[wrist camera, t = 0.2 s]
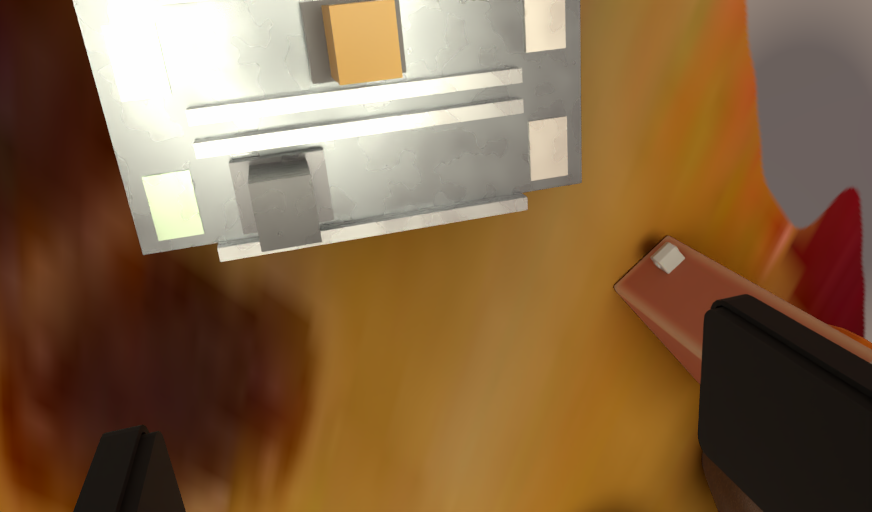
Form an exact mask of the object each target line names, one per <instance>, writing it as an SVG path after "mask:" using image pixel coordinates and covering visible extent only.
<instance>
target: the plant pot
mask: <svg viewBox="0 0 872 512" xmlns="http://www.w3.org/2000/svg"><path fill="white" fill-rule="evenodd" d="M702 466H703V470H704V473H705V476H706V479H707V482H708V485H709V488H710V490H711V493H712V496H713V498H714V501H715V503H716V506H717V508H718V511H719V512H763V511H762V510H761V509H760V508H759V507H758V506H757V505H756V504H755V503H754V502H753V501H752V500H751V499H750V498H749V497H748V496H747V495H746V494H745V493H744V492H743V491H742V490H741V489H740V488H739V487H738V486H737V485H736V484H735V483H734V482H733V481H732V480H731V479H730V478H729V477H728V476H727V475H726V474H725V473H724V472H723V471H722V470H721V469H720V468H718V467H717V466H716V465H715V464H714V463H713V462H712V461H711V460H710V459H709V458H708V457H707V456H706V454H705V453H704V452H703V453H702Z"/></svg>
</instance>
